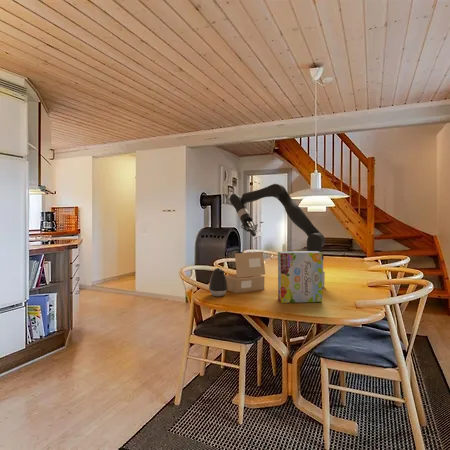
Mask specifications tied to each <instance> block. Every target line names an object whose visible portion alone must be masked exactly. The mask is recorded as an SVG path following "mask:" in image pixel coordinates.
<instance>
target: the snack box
mask: <svg viewBox="0 0 450 450" xmlns="http://www.w3.org/2000/svg"><path fill="white" fill-rule="evenodd" d="M322 254H323V252H322V253H321V252H318V251H307V250H306V251H305V250H297V251H296V250H295V251H294V250H293V251H290V250H289V251H277V283H278V284H277V293H278V294H277V295H278V296H277V300H278V301H279V302H280V303H281V304H284V303H285V304H287V303H291V304H292V303H295V304H297V303H322V302H323V287H322Z"/></svg>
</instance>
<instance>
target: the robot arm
mask: <svg viewBox="0 0 450 450" xmlns="http://www.w3.org/2000/svg"><path fill="white" fill-rule="evenodd" d="M271 197H272V198H275V199H277V200H278V202H279V203H281V205H282V206H283V208H284V210H285V212H286V215H287V217H289V219H290V220H291V221H292V223H293V224H294V225H295V226H297V228H299V229H300V230H302V231H303V232H304V234H305V235H306V236H307V239H306V251H318V252H321V253H322V288H325V283H326V282H325V278H326V277H325V274H326V273H325V271H324V254H323V252H322V251H323V250H322V248H323V247H324V246H325V244H326V238H325V236H324V234H323V233H322V232H321V231H319V229H318V228H317V227H316V226H315V225H314V224H313V223H312V221H311V220H310V218H309V217H308V216H307V215H306V213H305V212H304V211H303V209H302V208H301V207H300V206H299V205H298V204H297V203H296V201H295V200H293V198H292V197H291V195H290V194H289V193H288V191H287V189H286V187H284V185H282V184H280V183H273V184H270V185H268V186H265V187H263V188H260V189H256V190H252V191H248V192H247V191H246V192H244V193H242V195H241V196H240V195H238V194H237V193H232V194H231V195H230V196H229V201H230V202H229V203H230V204H231V205H232V207H233V209H235V211H236V213H237V215H238V218H239V220H240V222H241V224H242V225H241V226H240V228H241V229H243V230H245V232H248V233H250V234H251V236H252V237H256V236H257V233H256V230H257V229H258V226H259V224H258V223H255V222H254V221H253V217H252V216H251V214H250V212H249V211H248V209H247V207H246V206H245V205H246V204H247V203H252V202H256V201H258V200H261V199H263V198H271Z"/></svg>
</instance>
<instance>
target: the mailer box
mask: <svg viewBox="0 0 450 450" xmlns="http://www.w3.org/2000/svg"><path fill="white" fill-rule="evenodd" d="M225 277H226V281H227V291H229V292H232V293H234V294H242V293H249V292H250V293H251V292H257V291H263V290H265V275H257V276H248V277H238V278H237V273H235V274H225Z"/></svg>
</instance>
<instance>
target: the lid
mask: <svg viewBox="0 0 450 450" xmlns="http://www.w3.org/2000/svg"><path fill="white" fill-rule="evenodd" d="M264 256H265V255H264V251H254V252H240V253H239V252H238V253H234V258H235V269H236V270H235V271H236V272H235V274H237V278H238V277H248V276H257V275H262V276H265V275H266V269H265V257H264Z"/></svg>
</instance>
